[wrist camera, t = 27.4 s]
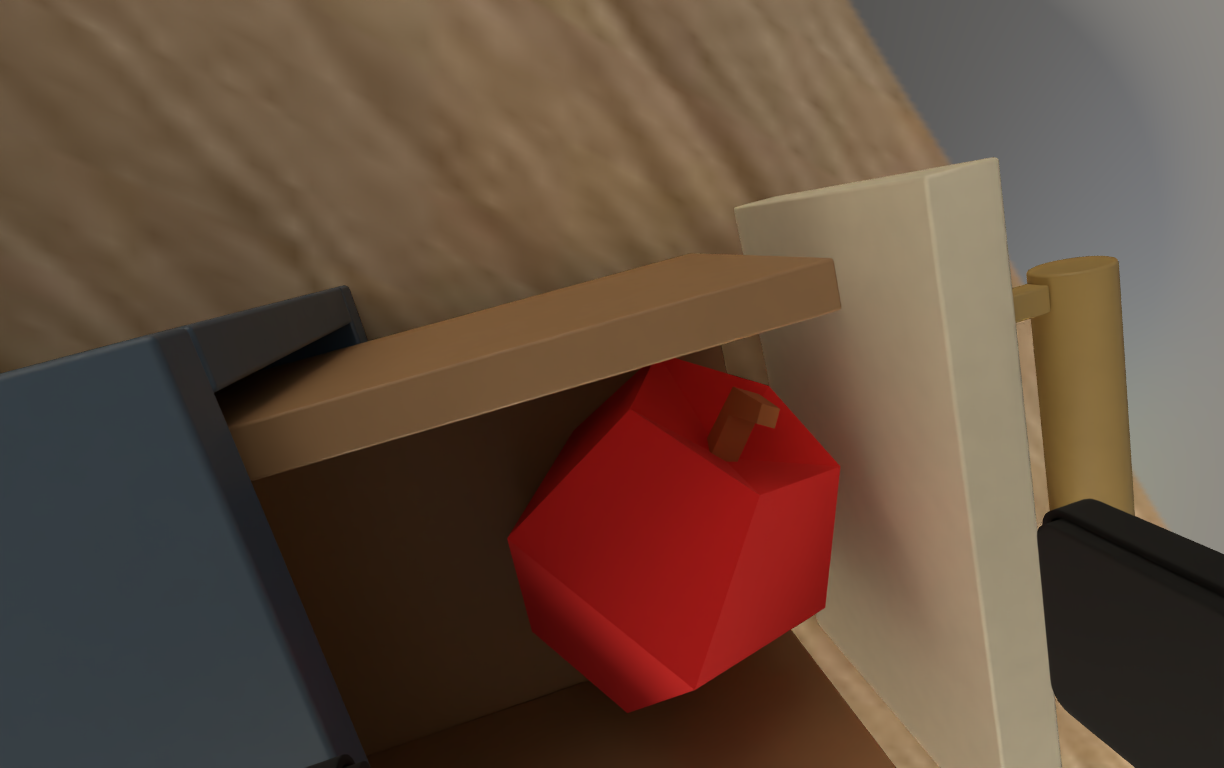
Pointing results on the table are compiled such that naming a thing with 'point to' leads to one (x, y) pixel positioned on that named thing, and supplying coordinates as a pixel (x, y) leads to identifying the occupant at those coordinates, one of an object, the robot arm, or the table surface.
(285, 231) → the table surface
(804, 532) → the apple
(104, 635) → the cabinet
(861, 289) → the drawer
